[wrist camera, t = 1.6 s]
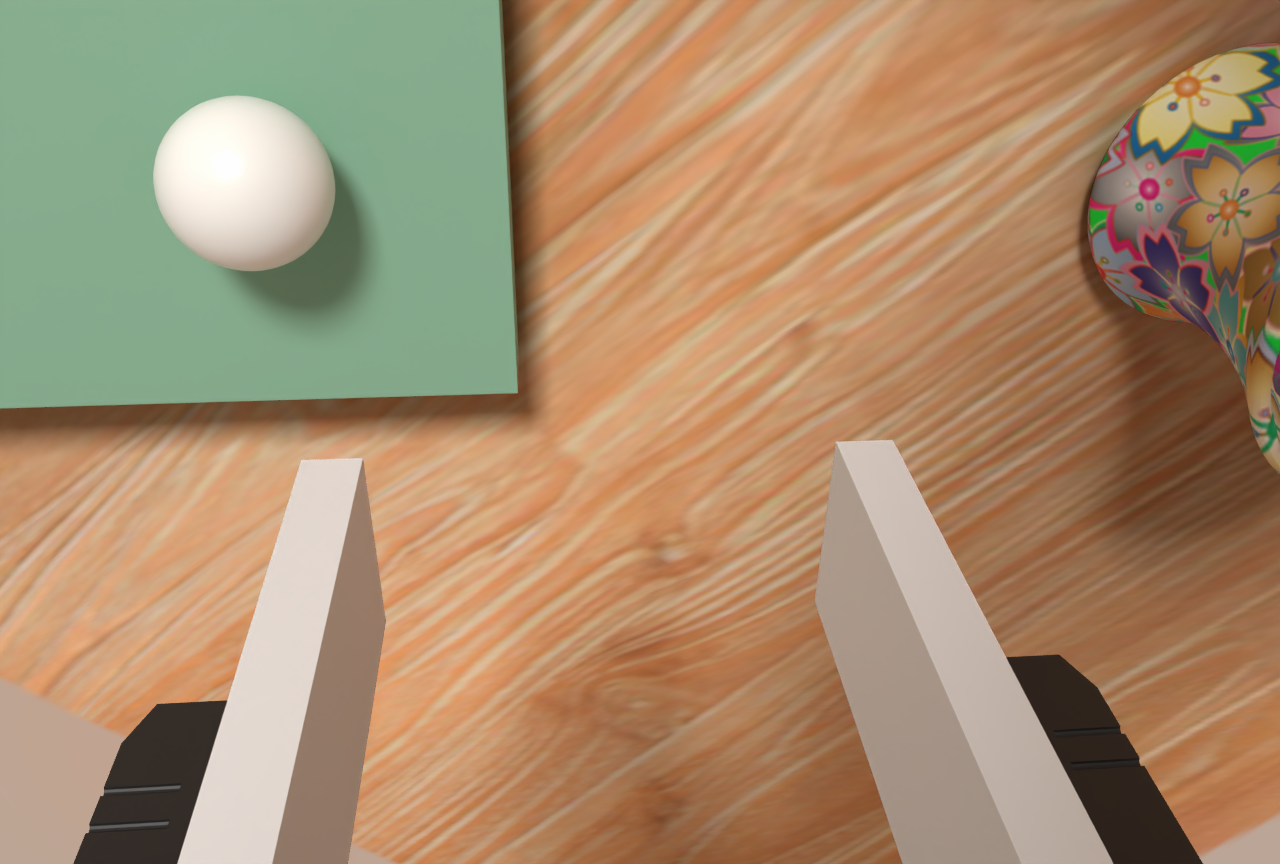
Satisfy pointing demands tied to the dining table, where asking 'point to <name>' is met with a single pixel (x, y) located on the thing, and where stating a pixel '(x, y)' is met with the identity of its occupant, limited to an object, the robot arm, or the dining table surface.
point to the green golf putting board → (275, 298)
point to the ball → (244, 183)
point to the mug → (1203, 216)
